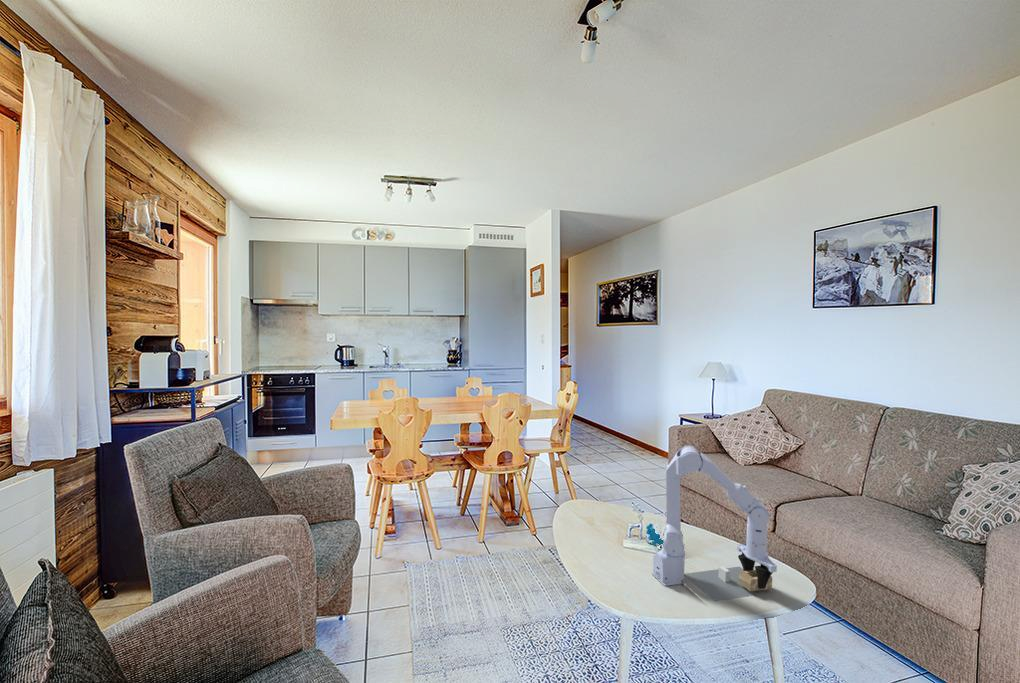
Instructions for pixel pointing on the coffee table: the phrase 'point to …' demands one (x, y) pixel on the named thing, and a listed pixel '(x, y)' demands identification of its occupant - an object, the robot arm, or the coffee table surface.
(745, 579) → the open rectangular tan frame
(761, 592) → the board
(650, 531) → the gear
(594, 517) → the coffee table surface
